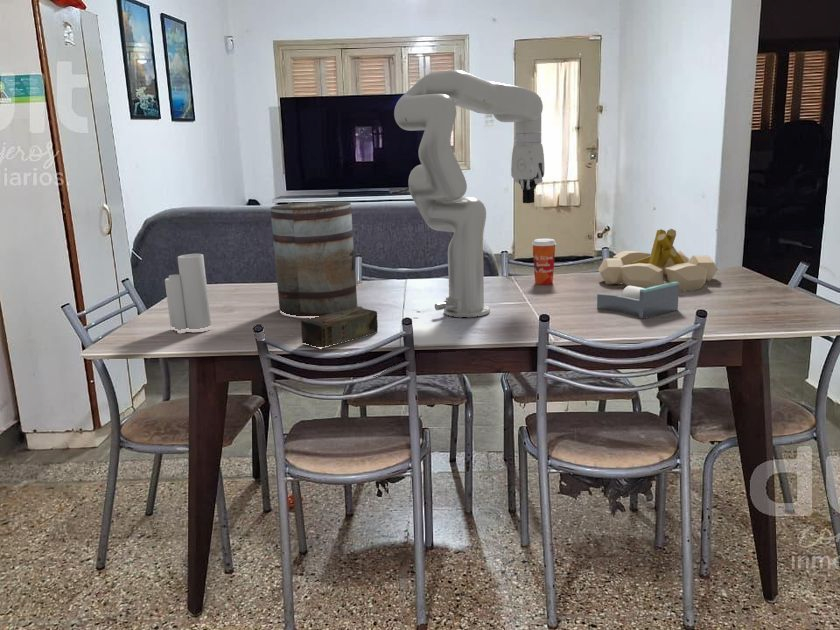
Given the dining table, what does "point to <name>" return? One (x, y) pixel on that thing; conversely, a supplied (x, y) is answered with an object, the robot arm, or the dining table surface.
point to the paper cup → (543, 260)
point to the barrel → (314, 257)
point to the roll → (632, 292)
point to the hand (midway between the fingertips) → (528, 202)
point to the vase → (188, 294)
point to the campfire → (658, 266)
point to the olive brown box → (339, 327)
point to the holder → (644, 301)
